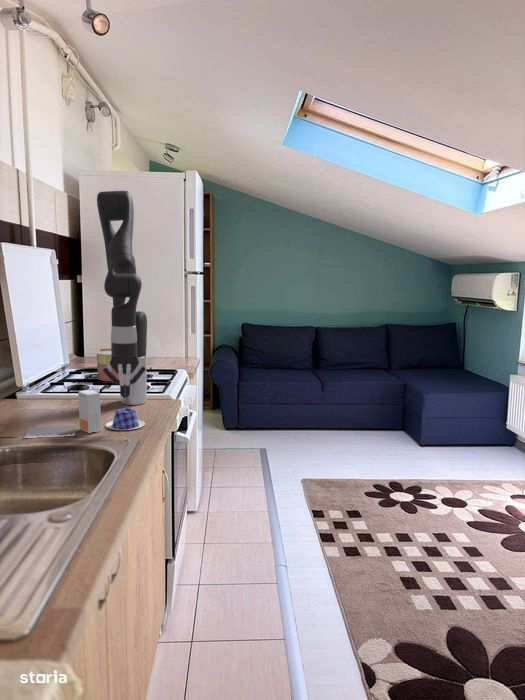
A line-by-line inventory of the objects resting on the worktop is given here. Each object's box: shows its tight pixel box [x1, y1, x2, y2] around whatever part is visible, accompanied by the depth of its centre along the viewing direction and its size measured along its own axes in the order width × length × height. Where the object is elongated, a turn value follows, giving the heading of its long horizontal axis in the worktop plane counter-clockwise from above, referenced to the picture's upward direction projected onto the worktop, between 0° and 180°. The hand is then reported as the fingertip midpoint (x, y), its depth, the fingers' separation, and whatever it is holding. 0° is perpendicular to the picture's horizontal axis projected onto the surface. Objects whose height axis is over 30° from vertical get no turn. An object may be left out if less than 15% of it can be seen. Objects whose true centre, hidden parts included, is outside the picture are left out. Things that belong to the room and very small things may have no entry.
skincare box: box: [78, 389, 102, 434], centre depth 165 cm, size 6×4×12 cm
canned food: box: [97, 351, 119, 381], centre depth 237 cm, size 11×11×12 cm
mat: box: [24, 424, 79, 436], centre depth 163 cm, size 10×14×1 cm
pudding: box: [105, 408, 146, 431], centre depth 171 cm, size 12×12×5 cm
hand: (125, 397), depth 166 cm, fingers closed
